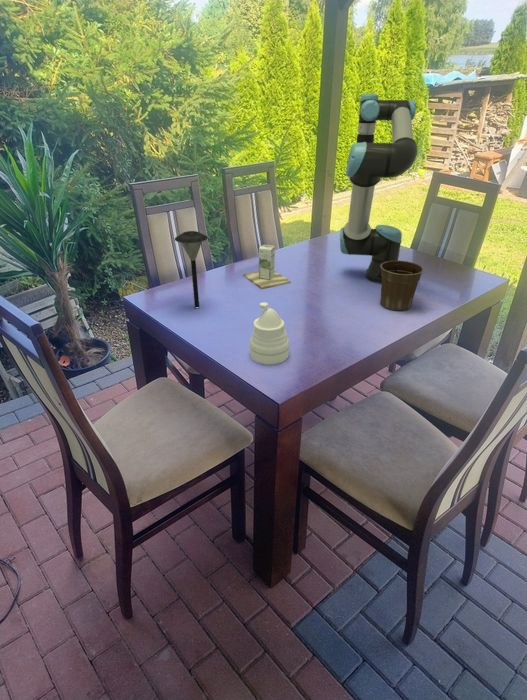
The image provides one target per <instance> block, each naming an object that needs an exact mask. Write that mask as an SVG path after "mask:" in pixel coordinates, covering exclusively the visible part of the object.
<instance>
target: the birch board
mask: <svg viewBox="0 0 527 700" xmlns="http://www.w3.org/2000/svg"><path fill="white" fill-rule="evenodd" d="M242 276H243V277H244V276H245V277H246V278H245V277H244V278H245V279H246V280H248V279H249V280H250V281H249V280H248V281H249V282H251V283H252V284H253V283H254V284H253V285H255V286H256V287H258V288H259V289H260V290H264V289H269V288H273V287H278V286H283V285H288V284H291V280H290V279H289V278H287V277H286V276H284V275H282V274H280V273H279V272H278V271H276V270H274V277H273V278H272V279H271V280H267V279H260V278H259V270H256V271H251V272H245V273H243V274H242Z"/></svg>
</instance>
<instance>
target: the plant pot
mask: <svg viewBox="0 0 527 700" xmlns="http://www.w3.org/2000/svg"><path fill="white" fill-rule="evenodd" d="M380 267H381V276H382V283H380V285H381V286H380V302H379V303H380V304H381V306H382V307H383V308H385V309H388V310H392V311H398V310H400V311H401V312H402V311H407V310H409V309H410V308H411V307H412V304H413V301H414V297H415V293H416V290H417V287H418V284H419V281H420V280H421V277H422V273H423V272H424V267H423V266H422V265H421V264H418V263H415V262H412V261H409V260H399V259H398V260H394V261H387V262H383V263H382V264H381V266H380Z"/></svg>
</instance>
